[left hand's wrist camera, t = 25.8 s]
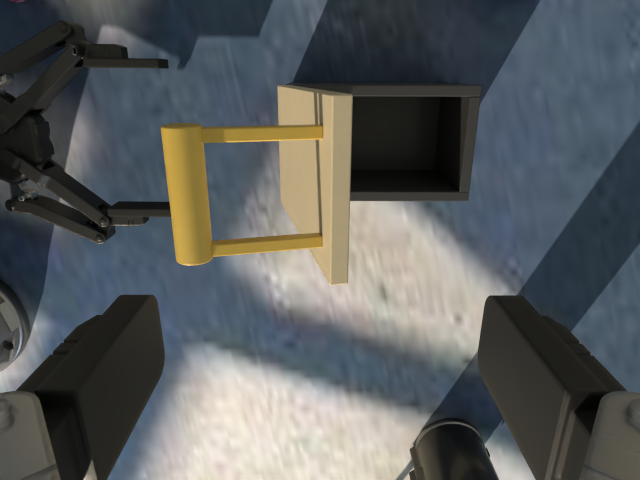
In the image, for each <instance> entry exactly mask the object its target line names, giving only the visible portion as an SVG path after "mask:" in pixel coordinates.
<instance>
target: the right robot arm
mask: <svg viewBox="0 0 640 480" xmlns="http://www.w3.org/2000/svg"><path fill="white" fill-rule="evenodd" d="M66 46H68V47H67V48H66V49H65V51H64V52H63V53H62V54H61V55H60V56H59V57H58V58H57V59H56V60H55V61H54V62H53V63H52V65H51V66H50V67H49V68H48V69H47V70H46V71H45V72H44V73H43V74H42V75H41V76H40V77H39V79H38V80H37V81H36V82H35V83H34V84H33V85H32V86H31V87H30V88H29V89H28V90H27V91H26V92H25V93H24V94H22V95H20V96H19V97H18V98H15V97H14V96H12V95H11V94H9V93H6V92H5V87H6V85H7V84H10V83H11V82H12V80H13V79H14V76H13V74H17V73H21V72H23V71H25V70H27V69H28V68H30V67H32V66H34V65H35V64H37V63H39V62H40V61H42V60H44V59H45V58H47V57H49V56H51V55H52V54H54V53H56V52H57V51H59V50H61V49H63V48H64V47H66ZM84 67H91V68H169V67H168V60H166V59H128V52H127V47H124V46H122V45H116V44H91V43H89V42H88V41H87V39H86V38H85V36H84V29H83V27H82V26H81V25H80V24H77V23H72V22H67V21H59V22H57V23H55V24H54V25H52V26H50V27H49V28H47V29H45V30H44V31H42V32H40V33H39V34H37V35H35V36H34V37H32V38H30V39H29V40H27V41H25V42H24V43H22V44H20V45H19V46H17V47H15V48H14V49H12V50H10V51H9V52H7V53H5V54H4V55H2V56H0V179H1V180H4V181H6V182H8V183H9V185H10V193H11V199H9V200H7V201H6V202H5V206H6V208H7V209H8V210H9V211H12V212H21V213H29V214H32V215H34V216H36V217H39V218H41V219H43V220H45V221H48V222H50V223H52V224H55V225H57V226H59V227H61V228H64V229H66V230H68V231H71V232H73V233H75V234H77V235H80V236H82V237H84V238H86V239H89V240H91V241H93V242H96V243H98V244H102V243H104V242H105V241H107V240H108V239H109V238H110V237H112V236H113V235H114V234H115V226H129V225H130V226H140V225H142V224H144V223H146V222H147V221H148V220H149V217H171V210H170V202H117V203H116V204H114V205H113V206H111V205H109V204H108V203H106V202H105V201H104V200H102V199H101V198H100V197H98V196H97V195H96V194H94V193H93V192H91V191H90V190H89V189H87V188H86V187H85V186H83V185H82V184H80V183H79V182H78V181H76V180H75V179H74V178H72V177H71V176H70V175H68V174H67V173H65V172H64V169H63V168H62V167H61V166H60V165H58V164H57V163H56V162H54V161H53V160H52V159H51V158H52V155H53V154H54V149H53V145H52V143H51V141H50V138H49V134H50V128H49V123H48V122H46V121H45V120H44V118H43V117H42V116H41V115H42V114H43V113H44V112H45V110H46V109H47V108H48V107H49V106H50V105H51V102H52V100H53V99H54V98H55V97H56V96H57V95H58V94H59V93H60V92H61V91H62V90H63V89H64V88H65V87H66V86H67V85H68V84H69V83H70V82H71V81H72V79H73V78H74V77H75V76H76V75H77V74H78V73H79V72H80V71H81V70H82V69H83V68H84ZM41 169H43V170H41ZM29 179H30V180H32V181H33V182H35V183H36V184H38V185H42V186H45V187H46V188H48V189H49V190H51V191H52V192H53V193H55V194H56V195H58V196H59V197H60V198H62V199H63V200H65V201H66V202H67V203H69V204H70V205H72V206H73V207H74V208H76V209H77V210H76V209H73V208H71V207H69V206H67V205H64V204H62V203H60V202H58V201H55V200H53V199H51V198H48V197H45V196H41V195H38V191H36V190H33V189H30V188H29V187H27V185H26V183H25V181H27V180H29ZM78 210H79V211H78ZM28 337H29V324H28V319H27V315H26V312H25V310H24V308H23V306H22V304H21V302H20V301H19V299H18V298H17V296H16V295H15V294H14V293H13V292H12V291H11V290H10V289H9V288H8V287H7V286H6V285H5V284H4V283H3V282H2V281H0V371H2V370H4V369H5V368H6V367H8V366H9V365H10V364H11V363H12V362H13V361H14V360H15V359H16V358H17V357H18V356H19V355H20V354H21V353H22V351H23V350H24V348H25V346H26V344H27V341H28Z"/></svg>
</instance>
